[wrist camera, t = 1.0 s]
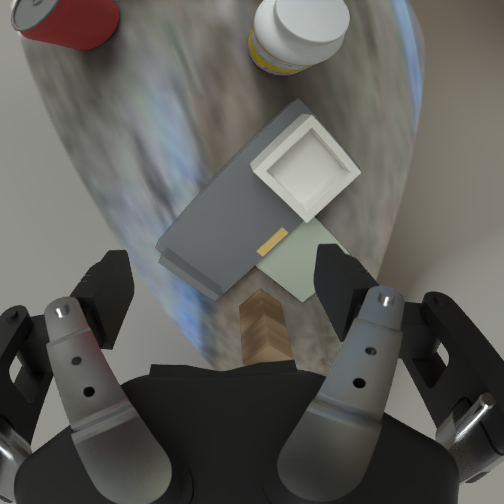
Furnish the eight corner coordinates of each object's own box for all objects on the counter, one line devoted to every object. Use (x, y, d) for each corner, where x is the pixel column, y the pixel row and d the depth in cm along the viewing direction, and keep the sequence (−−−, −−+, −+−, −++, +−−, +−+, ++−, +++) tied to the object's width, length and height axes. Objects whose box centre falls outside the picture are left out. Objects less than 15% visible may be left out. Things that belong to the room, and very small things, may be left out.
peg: (260, 288, 37) (269, 345, 28) (280, 303, 38) (293, 359, 30) (239, 306, 38) (242, 363, 29) (259, 319, 40) (267, 376, 31)
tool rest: (309, 210, 32) (311, 213, 31) (351, 255, 35) (354, 259, 35) (254, 260, 35) (255, 265, 34) (301, 298, 38) (302, 302, 37)
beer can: (131, 4, 18) (84, -36, 8) (105, 55, 21) (44, 38, 11) (86, -1, 16) (29, -30, 6) (62, 48, 19) (-4, 37, 9)
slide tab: (302, 113, 25) (311, 114, 21) (347, 164, 27) (361, 172, 24) (249, 163, 27) (252, 171, 24) (298, 209, 30) (306, 223, 26)
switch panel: (293, 97, 26) (303, 96, 22) (352, 164, 29) (368, 172, 26) (158, 239, 32) (150, 256, 29) (221, 286, 36) (221, 306, 33)
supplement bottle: (291, 12, 21) (331, -38, 9) (322, 61, 24) (382, 40, 12) (234, 36, 22) (238, -11, 11) (267, 86, 25) (295, 72, 14)
